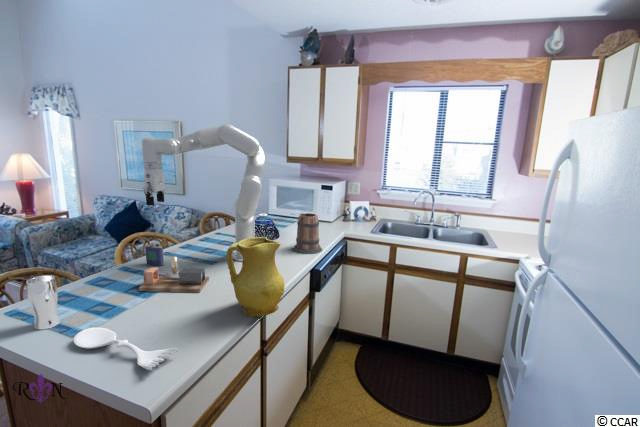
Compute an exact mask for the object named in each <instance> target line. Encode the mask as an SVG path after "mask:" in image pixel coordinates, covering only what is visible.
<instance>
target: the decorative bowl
mask: <svg viewBox="0 0 640 427" xmlns="http://www.w3.org/2000/svg"><path fill="white" fill-rule="evenodd" d="M264 233H265V235H264ZM255 237H266V238H267V239H268V240H272V241H276V240H277V239H279V238H280V231H279V228H277V226H276V225H275V222H274V221H273V220H272V219H271V217H270V216H268V214H267V213H259V214H258V216H256V218H255Z"/></svg>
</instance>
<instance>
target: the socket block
mask: <svg viewBox="0 0 640 427" xmlns="http://www.w3.org/2000/svg"><path fill="white" fill-rule="evenodd" d="M159 276H160V275H159V267H148V268H147V269H145V270H144V271H143V284H154V283H155V282H156V281H157V280H159Z"/></svg>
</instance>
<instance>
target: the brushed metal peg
mask: <svg viewBox="0 0 640 427" xmlns="http://www.w3.org/2000/svg"><path fill="white" fill-rule="evenodd" d="M170 264H171V265H170V266H171V272H170V271H164V273H163V274H162V276H163V279H164V280H179V272H180V271H178V270H179V267H178V256H175V255H174V256H170ZM201 275H202V279H203V273H202V274H201Z"/></svg>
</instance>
